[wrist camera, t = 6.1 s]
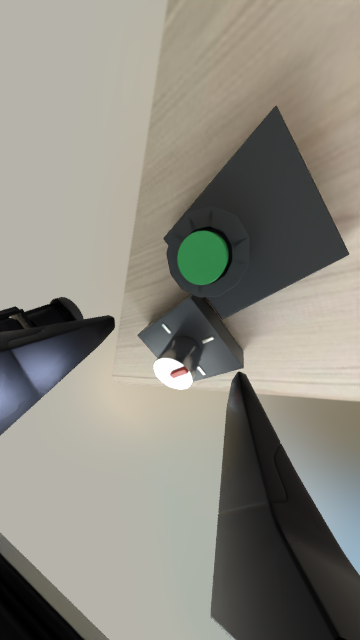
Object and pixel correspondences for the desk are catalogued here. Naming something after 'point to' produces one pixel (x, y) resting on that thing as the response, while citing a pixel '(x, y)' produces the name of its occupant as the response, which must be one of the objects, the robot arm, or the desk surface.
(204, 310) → the dial panel
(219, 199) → the button block
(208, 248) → the button
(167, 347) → the program dial
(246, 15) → the desk surface
